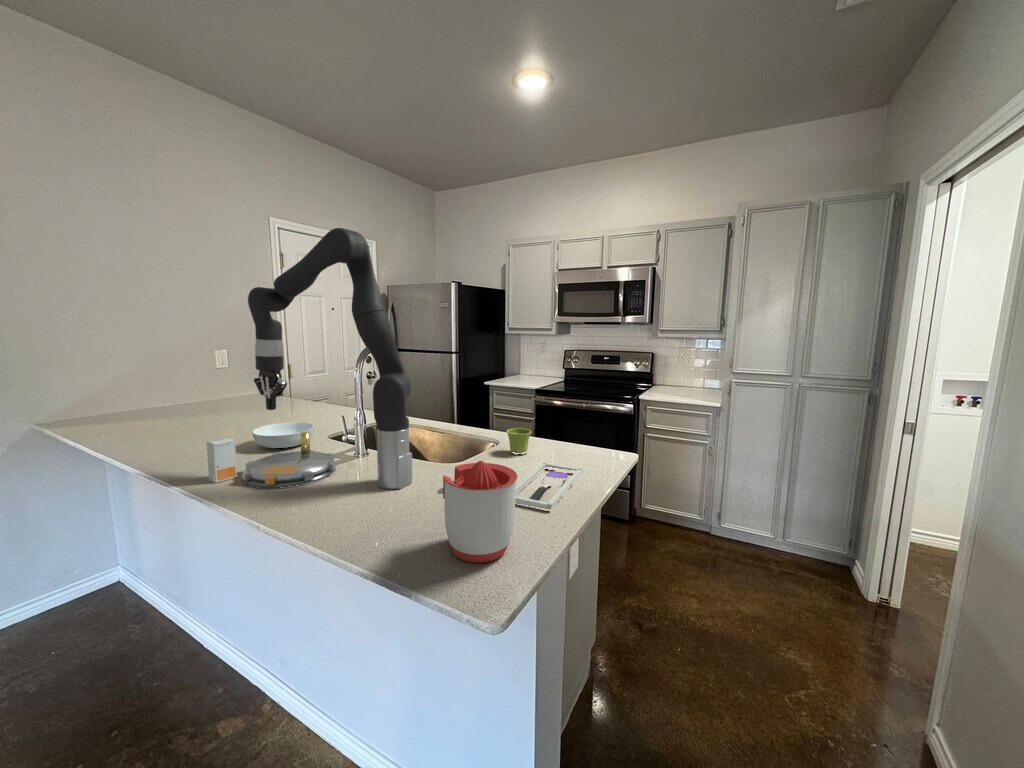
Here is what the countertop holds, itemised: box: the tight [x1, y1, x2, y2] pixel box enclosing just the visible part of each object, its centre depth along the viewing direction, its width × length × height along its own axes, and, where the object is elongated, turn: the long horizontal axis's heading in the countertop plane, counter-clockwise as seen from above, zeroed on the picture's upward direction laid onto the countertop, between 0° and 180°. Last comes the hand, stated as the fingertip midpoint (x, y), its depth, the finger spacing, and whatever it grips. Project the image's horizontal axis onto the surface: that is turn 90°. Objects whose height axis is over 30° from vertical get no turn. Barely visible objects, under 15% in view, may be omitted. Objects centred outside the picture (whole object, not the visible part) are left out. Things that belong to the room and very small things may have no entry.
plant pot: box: [506, 427, 532, 453], centre depth 159 cm, size 9×9×9 cm
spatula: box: [529, 471, 569, 501], centre depth 124 cm, size 24×7×2 cm, turn 154°
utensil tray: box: [515, 462, 583, 509], centre depth 127 cm, size 13×31×2 cm, turn 156°
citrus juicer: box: [436, 460, 518, 563], centre depth 90 cm, size 16×17×20 cm
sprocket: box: [241, 432, 337, 485], centre depth 132 cm, size 27×27×9 cm
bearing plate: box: [242, 460, 337, 489], centre depth 133 cm, size 26×26×1 cm
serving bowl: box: [251, 421, 315, 449], centre depth 161 cm, size 21×21×7 cm
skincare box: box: [206, 437, 238, 484], centre depth 126 cm, size 6×4×12 cm
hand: (271, 409), depth 131 cm, fingers closed
